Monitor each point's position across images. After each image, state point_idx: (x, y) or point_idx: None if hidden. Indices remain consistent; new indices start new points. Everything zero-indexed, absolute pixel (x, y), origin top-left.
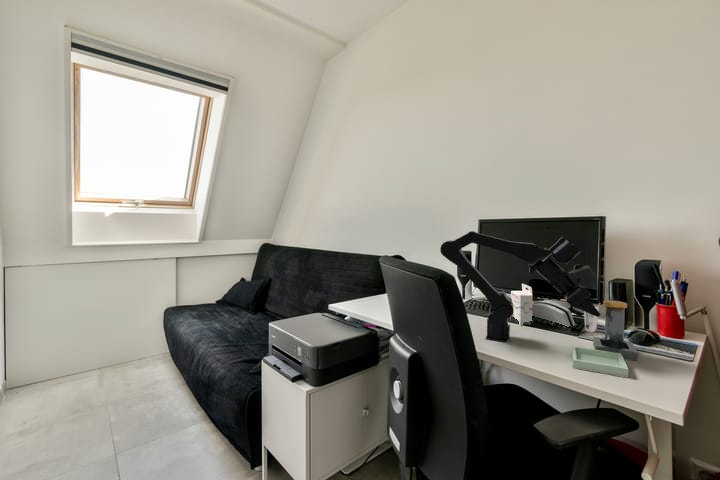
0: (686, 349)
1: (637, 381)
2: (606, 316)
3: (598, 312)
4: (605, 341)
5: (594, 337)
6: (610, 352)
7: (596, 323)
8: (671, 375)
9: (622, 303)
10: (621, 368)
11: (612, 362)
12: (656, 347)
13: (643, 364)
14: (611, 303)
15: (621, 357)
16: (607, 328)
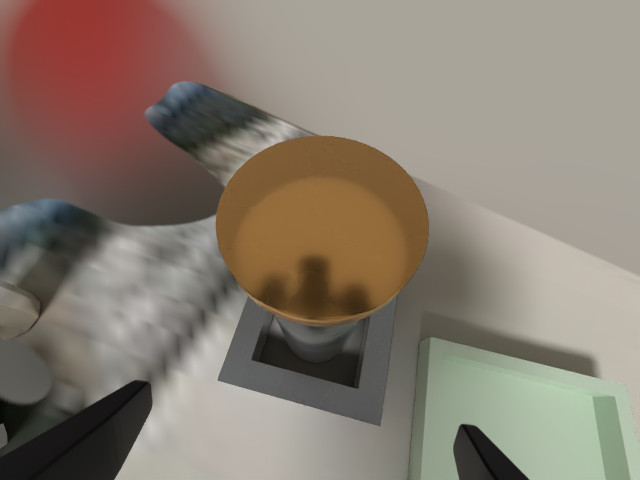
0: (235, 114)
1: (608, 365)
2: (330, 329)
3: (499, 455)
4: (319, 356)
5: (231, 379)
6: (435, 379)
7: (2, 284)
8: (482, 238)
9: (345, 165)
10: (630, 410)
11: (480, 393)
12: (229, 171)
13: (418, 276)
14: (379, 260)
15: (485, 355)
16: (338, 341)
